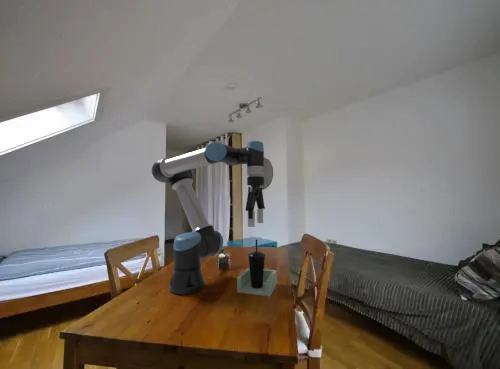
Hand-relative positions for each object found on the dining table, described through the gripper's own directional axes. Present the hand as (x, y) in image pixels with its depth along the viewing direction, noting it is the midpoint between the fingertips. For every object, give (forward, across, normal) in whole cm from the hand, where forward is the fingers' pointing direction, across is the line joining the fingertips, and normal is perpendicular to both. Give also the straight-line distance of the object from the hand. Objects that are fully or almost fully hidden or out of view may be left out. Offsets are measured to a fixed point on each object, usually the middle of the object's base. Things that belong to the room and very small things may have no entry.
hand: (256, 224), depth 102 cm
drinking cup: (+27, 0, 0) cm, 27 cm away
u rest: (+27, +1, 0) cm, 27 cm away
